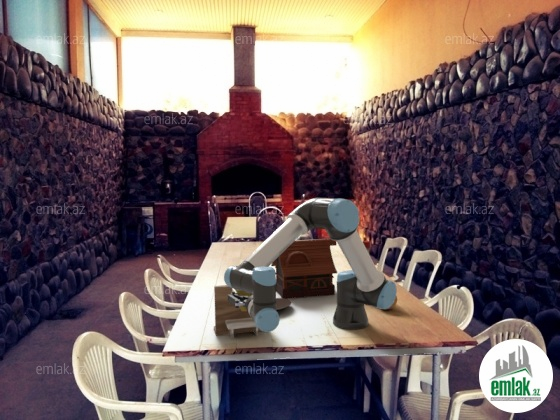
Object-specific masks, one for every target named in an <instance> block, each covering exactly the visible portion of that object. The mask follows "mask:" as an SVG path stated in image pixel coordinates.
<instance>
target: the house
mask: <svg viewBox="0 0 560 420" xmlns="http://www.w3.org/2000/svg"><path fill="white" fill-rule="evenodd" d="M333 246H334V247H335V246H337V241H334V240H332V239H331V238H317V239H303V240H295V241H294V242H293V243H292V244H291V245H290V246H289V247H288V248H287V249H286V250H285V251H284V252H283V253H282V254H281V255H280V256H279V257H278V258H277V259H276V260H275V261H274V262H273V263H272V264H271V265H270V267H274V269H275V274H276V294H278V295H279V296H280V298H284V299H289V300H291V299H299V298H311V297H312V298H313V297H325V296H326V297H327V296H335V295H336V291H335V290H336V287H335V284H334V283H333V279H334V278H335V276H334V275H333V274H335V275H336V274H338V270H337V267H336V266H335V263H334V259H333V255H332V250H331V247H333Z"/></svg>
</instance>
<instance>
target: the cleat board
mask: <svg viewBox="0 0 560 420" xmlns="http://www.w3.org/2000/svg"><path fill="white" fill-rule="evenodd" d="M213 287H214V290H213V291H214V293H213V294H214V326H213V330H214V334H215V336H226V335H229V336H230V337H231V339H234V338H235V337H234V336H235V335H236V334H246V333H254V335H255V336H256V337H257V336H259V332H263V331H262V330H260V329H259V328H258V327H257V326H256V325H255V322H254V321H253V319H252V318H251V316H250V315H249V313H248V312H247V311H241V309H240V307H239V308H235V306H234V305H233V304H231V303H230V302H228V294H231V293H232V289H233V288H231V287H229V286H228V285H226V284H224V285H214V286H213ZM235 290H236V289H235Z"/></svg>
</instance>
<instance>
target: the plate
mask: <svg viewBox="0 0 560 420" xmlns="http://www.w3.org/2000/svg"><path fill="white" fill-rule="evenodd" d="M291 304H292V300H291V299H284V298H281V297H276V311H277V310H282V309H285V308H287V307H289V306H291Z"/></svg>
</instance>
